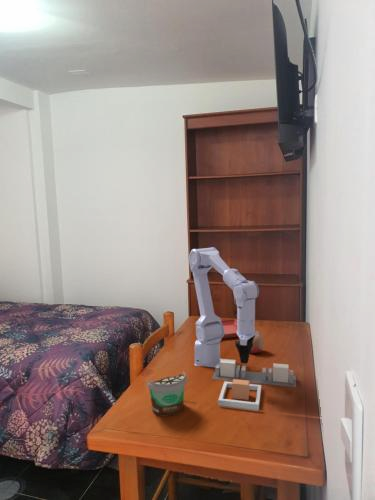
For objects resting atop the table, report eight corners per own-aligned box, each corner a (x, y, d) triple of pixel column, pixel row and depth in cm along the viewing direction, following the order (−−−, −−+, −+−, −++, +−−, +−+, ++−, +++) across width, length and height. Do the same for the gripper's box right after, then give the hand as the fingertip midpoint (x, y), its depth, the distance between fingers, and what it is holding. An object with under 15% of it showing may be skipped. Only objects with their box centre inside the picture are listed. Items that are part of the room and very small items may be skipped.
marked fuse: (232, 398, 117) (232, 383, 117) (233, 393, 120) (233, 379, 120) (248, 400, 116) (248, 385, 115) (249, 395, 119) (249, 380, 118)
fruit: (262, 348, 157) (262, 330, 156) (264, 356, 149) (264, 337, 148) (242, 348, 158) (243, 330, 157) (243, 356, 150) (243, 336, 149)
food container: (156, 423, 106) (155, 389, 105) (147, 412, 111) (146, 380, 110) (194, 411, 111) (194, 379, 110) (185, 401, 117) (184, 370, 116)
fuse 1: (220, 375, 132) (220, 362, 132) (221, 372, 135) (221, 358, 134) (234, 377, 131) (234, 363, 130) (235, 373, 134) (235, 360, 133)
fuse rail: (211, 380, 130) (211, 370, 130) (215, 369, 138) (215, 360, 138) (296, 388, 124) (296, 378, 123) (295, 377, 131) (295, 367, 131)
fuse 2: (272, 381, 128) (273, 367, 127) (273, 377, 131) (273, 363, 130) (288, 382, 126) (288, 368, 126) (288, 378, 129) (288, 364, 129)
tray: (218, 406, 114) (218, 399, 114) (224, 387, 125) (224, 381, 125) (258, 411, 111) (258, 404, 111) (261, 391, 122) (261, 385, 122)
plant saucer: (250, 337, 171) (250, 330, 171) (212, 342, 166) (212, 334, 166) (235, 325, 188) (235, 318, 188) (200, 328, 184) (200, 322, 183)
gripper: (256, 326, 116) (256, 368, 118) (260, 312, 130) (259, 350, 132) (233, 325, 118) (233, 366, 120) (239, 311, 132) (239, 348, 134)
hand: (245, 358), depth 126 cm, fingers open, 7 cm apart
